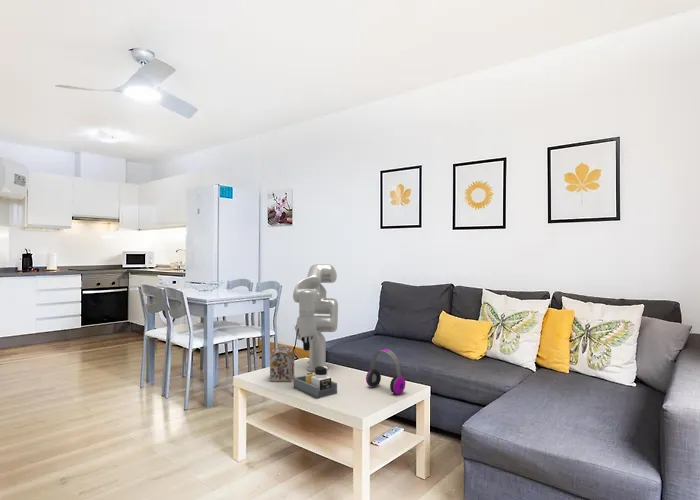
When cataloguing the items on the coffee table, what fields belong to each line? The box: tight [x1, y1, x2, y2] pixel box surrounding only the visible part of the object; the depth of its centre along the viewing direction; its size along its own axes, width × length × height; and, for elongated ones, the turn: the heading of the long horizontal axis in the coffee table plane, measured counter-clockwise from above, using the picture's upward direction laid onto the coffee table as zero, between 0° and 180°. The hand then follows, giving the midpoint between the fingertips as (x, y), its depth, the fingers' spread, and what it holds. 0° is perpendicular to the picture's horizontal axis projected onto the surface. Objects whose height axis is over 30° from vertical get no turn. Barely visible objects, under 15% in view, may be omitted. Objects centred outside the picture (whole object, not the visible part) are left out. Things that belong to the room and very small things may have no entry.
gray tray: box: [292, 375, 338, 399], centre depth 213 cm, size 21×12×5 cm, turn 39°
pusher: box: [305, 371, 315, 384], centre depth 215 cm, size 5×9×7 cm, turn 129°
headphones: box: [365, 348, 407, 395], centre depth 214 cm, size 21×9×20 cm, turn 45°
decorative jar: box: [269, 344, 295, 383], centre depth 234 cm, size 12×12×18 cm
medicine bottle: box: [311, 366, 332, 391], centre depth 209 cm, size 7×7×12 cm
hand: (306, 350), depth 219 cm, fingers closed
